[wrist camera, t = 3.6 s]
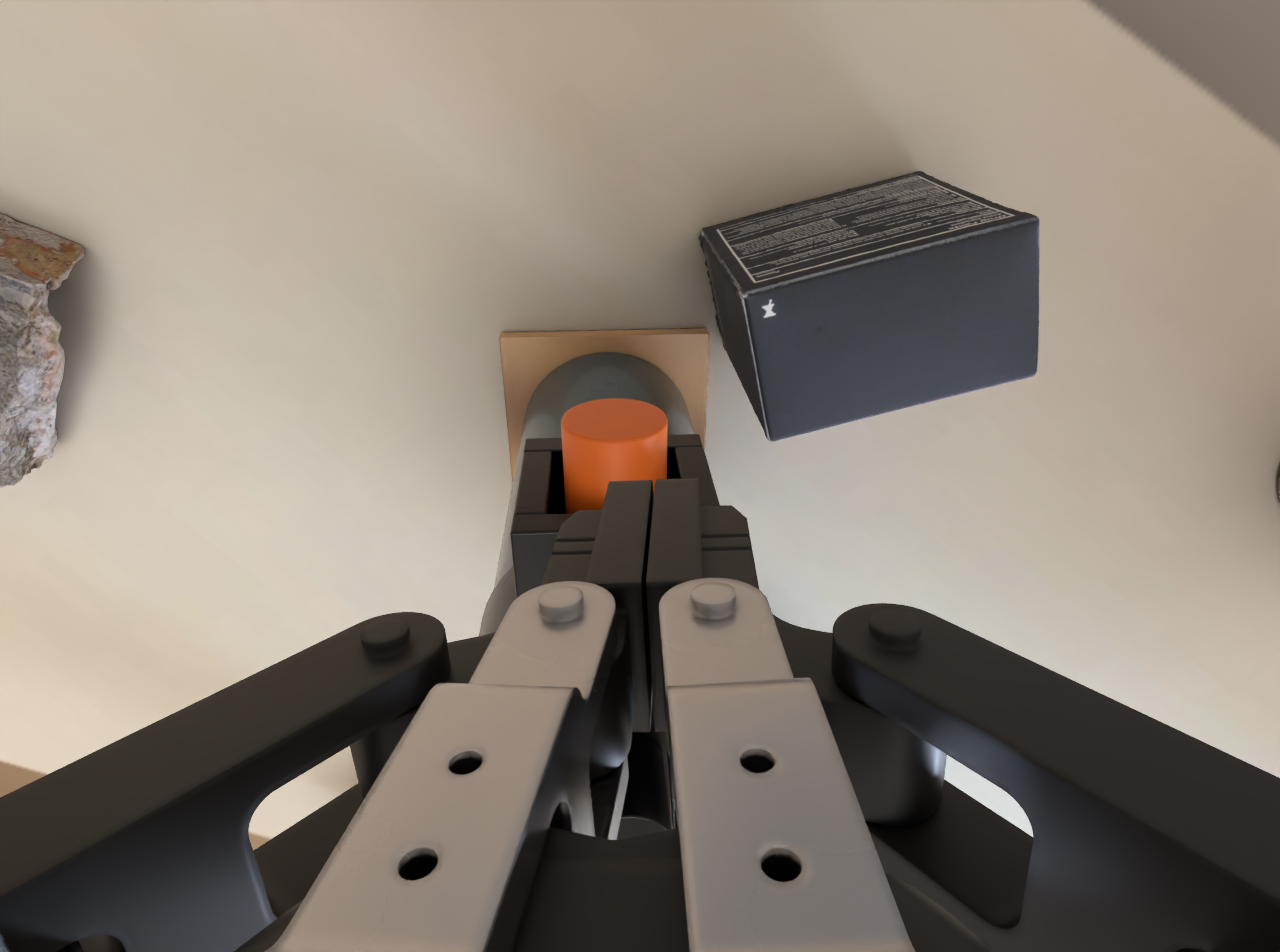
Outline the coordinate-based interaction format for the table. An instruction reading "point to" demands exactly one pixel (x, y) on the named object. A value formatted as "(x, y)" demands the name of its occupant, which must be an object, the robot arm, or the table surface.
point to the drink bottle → (544, 511)
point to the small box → (874, 301)
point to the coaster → (545, 351)
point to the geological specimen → (29, 344)
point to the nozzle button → (610, 448)
